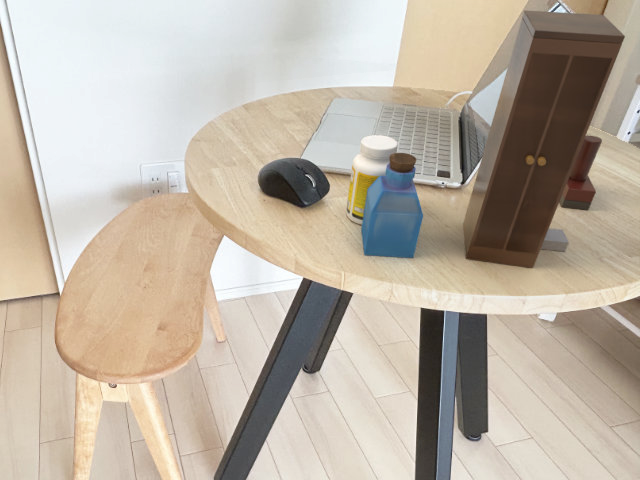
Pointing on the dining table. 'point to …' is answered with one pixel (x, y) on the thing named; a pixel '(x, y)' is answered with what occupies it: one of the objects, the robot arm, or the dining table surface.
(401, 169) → the perfume bottle
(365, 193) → the pill bottle
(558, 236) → the small grey rectangular block
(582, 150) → the stamp
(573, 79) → the cupboard
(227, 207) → the dining table surface
